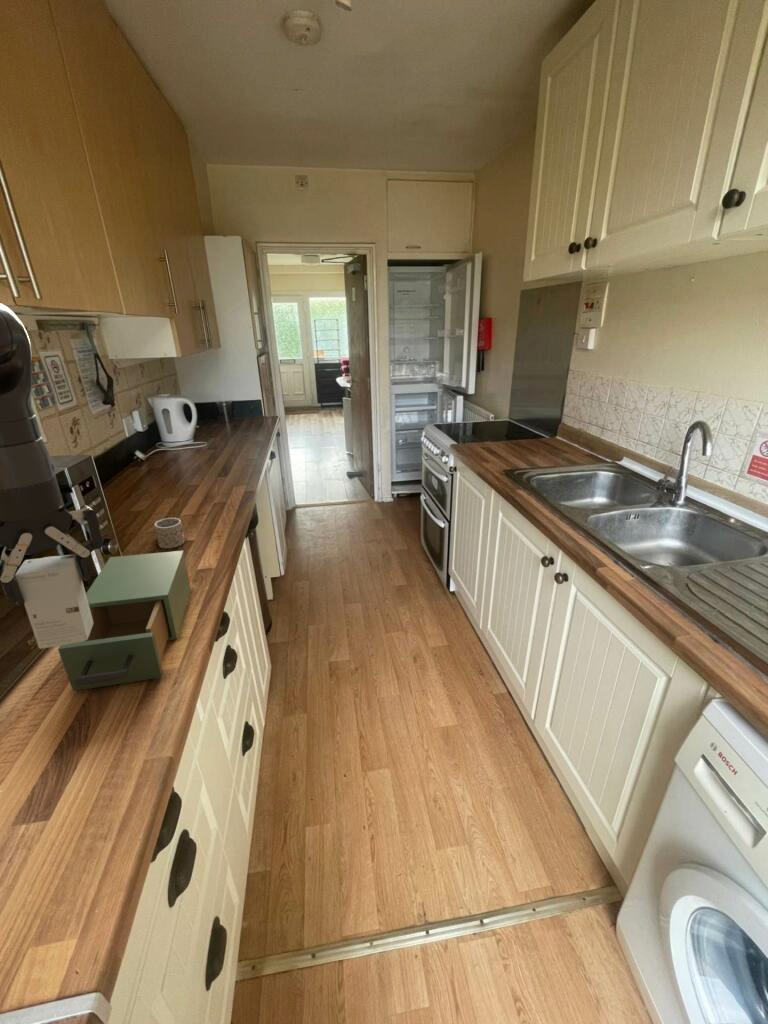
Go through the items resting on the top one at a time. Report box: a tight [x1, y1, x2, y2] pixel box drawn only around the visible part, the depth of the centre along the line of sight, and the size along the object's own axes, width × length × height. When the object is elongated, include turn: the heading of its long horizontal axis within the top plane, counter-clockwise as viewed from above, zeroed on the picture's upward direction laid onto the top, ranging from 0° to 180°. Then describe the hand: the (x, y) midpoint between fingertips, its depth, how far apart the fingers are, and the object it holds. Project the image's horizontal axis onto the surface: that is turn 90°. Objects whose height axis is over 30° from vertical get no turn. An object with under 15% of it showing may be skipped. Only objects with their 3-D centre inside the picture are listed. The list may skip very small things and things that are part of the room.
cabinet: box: [85, 550, 192, 641], centre depth 89 cm, size 18×15×11 cm
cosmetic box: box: [14, 554, 93, 650], centre depth 60 cm, size 6×4×12 cm
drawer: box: [57, 599, 170, 692], centre depth 76 cm, size 22×14×9 cm, turn 14°
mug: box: [154, 517, 186, 549], centre depth 121 cm, size 10×7×7 cm, turn 57°
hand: (54, 589), depth 59 cm, fingers closed on cosmetic box, 7 cm apart
